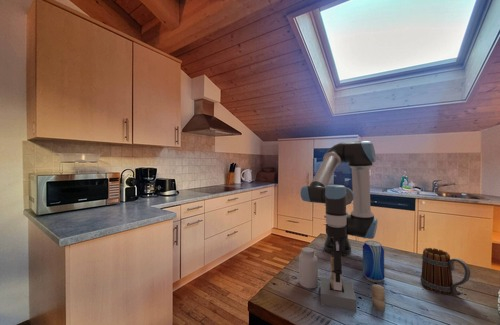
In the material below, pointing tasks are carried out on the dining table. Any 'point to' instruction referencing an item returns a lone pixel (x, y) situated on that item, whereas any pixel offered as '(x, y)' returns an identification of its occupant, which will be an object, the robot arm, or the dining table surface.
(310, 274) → the pill bottle
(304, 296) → the dining table surface
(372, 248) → the beer can
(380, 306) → the short dowel
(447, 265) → the mug
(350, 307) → the socket block
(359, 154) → the robot arm
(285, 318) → the dining table surface
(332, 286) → the tall dowel
